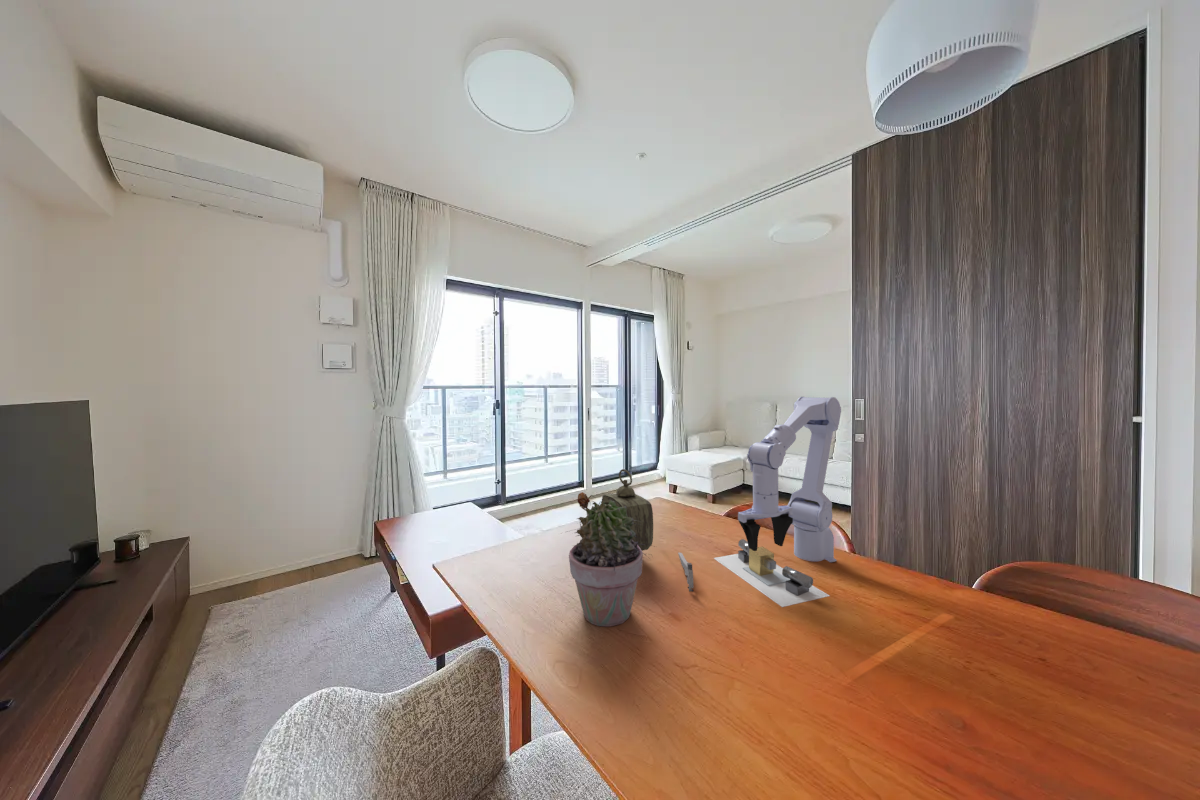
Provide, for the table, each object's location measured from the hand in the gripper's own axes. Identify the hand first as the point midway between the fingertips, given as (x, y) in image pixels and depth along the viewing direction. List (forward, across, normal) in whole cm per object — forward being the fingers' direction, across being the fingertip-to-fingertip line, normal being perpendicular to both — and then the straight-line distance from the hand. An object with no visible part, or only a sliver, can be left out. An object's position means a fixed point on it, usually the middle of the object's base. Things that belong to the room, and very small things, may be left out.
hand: (765, 547), depth 97 cm
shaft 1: (+7, -1, -8) cm, 11 cm away
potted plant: (+8, +41, +1) cm, 41 cm away
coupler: (+6, 0, -2) cm, 7 cm away
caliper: (+8, +17, -10) cm, 21 cm away
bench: (+8, 0, 0) cm, 8 cm away
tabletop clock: (+8, +28, -22) cm, 36 cm away
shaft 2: (+7, -1, +8) cm, 11 cm away
